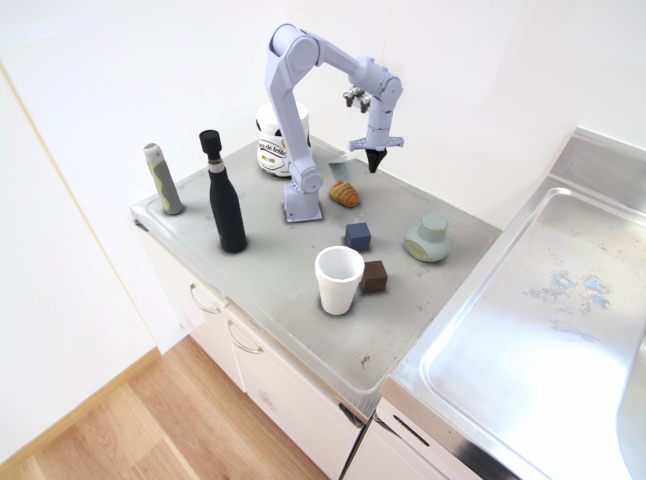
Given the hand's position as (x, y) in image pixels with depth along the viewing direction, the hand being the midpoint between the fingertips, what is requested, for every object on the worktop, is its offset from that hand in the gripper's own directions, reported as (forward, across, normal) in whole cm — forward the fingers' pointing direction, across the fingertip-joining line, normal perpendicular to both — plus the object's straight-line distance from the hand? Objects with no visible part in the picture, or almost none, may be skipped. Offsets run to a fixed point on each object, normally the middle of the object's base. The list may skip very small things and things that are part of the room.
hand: (371, 171), depth 96 cm
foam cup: (+8, -18, -38) cm, 42 cm away
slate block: (+7, -9, -21) cm, 24 cm away
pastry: (+8, -8, -1) cm, 11 cm away
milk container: (+8, -23, +18) cm, 30 cm away
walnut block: (+8, -9, -34) cm, 36 cm away
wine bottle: (+8, -40, -16) cm, 43 cm away
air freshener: (+8, +7, -26) cm, 28 cm away
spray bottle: (+8, -57, +1) cm, 57 cm away
